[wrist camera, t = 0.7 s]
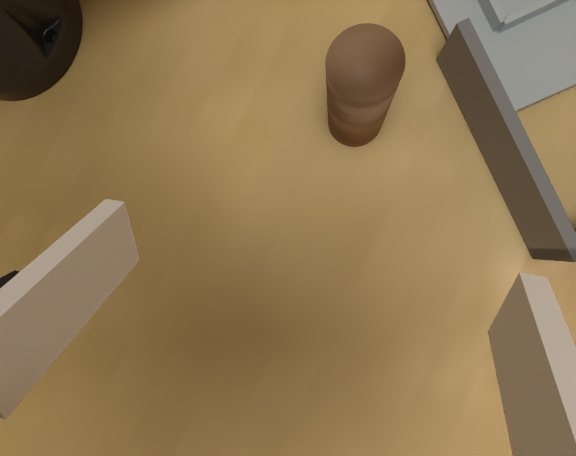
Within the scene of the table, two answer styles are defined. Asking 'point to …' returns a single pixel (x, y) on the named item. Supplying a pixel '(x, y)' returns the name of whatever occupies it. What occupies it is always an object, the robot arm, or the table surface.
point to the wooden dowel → (362, 81)
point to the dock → (506, 146)
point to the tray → (521, 42)
